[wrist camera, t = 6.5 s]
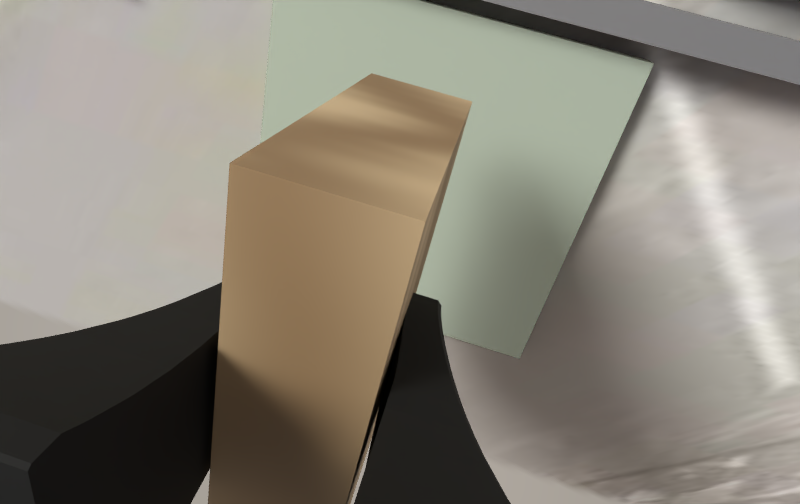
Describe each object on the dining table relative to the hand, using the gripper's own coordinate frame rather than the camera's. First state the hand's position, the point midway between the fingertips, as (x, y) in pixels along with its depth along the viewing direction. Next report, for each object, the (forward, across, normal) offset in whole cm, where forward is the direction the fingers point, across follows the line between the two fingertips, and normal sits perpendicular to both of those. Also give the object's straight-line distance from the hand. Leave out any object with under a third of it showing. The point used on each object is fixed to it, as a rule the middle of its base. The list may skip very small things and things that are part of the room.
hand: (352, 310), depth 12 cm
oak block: (+3, 0, 0) cm, 3 cm away
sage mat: (+9, 0, 0) cm, 9 cm away
